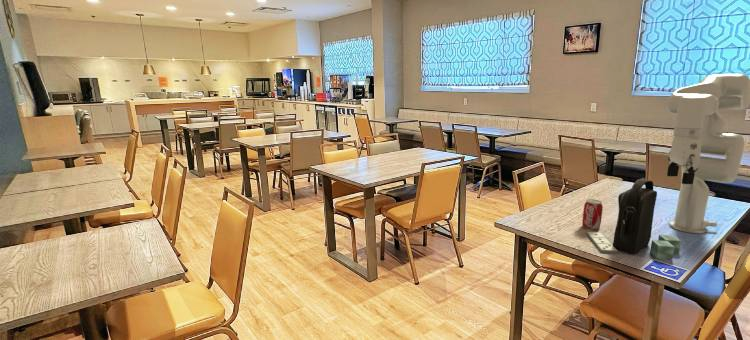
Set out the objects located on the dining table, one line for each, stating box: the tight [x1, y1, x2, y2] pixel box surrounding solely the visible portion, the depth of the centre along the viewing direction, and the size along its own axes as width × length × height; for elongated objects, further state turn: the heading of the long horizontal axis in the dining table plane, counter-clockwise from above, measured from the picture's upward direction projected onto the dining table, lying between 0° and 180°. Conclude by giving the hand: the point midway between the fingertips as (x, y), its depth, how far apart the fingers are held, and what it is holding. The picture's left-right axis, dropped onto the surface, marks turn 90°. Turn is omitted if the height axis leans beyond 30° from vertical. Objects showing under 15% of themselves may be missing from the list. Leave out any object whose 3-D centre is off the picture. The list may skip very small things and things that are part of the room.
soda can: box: [581, 199, 604, 230], centre depth 165 cm, size 7×7×12 cm
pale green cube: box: [657, 234, 682, 254], centre depth 144 cm, size 5×5×5 cm
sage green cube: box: [649, 239, 675, 260], centre depth 139 cm, size 5×5×5 cm
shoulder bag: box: [612, 177, 658, 256], centre depth 144 cm, size 23×9×28 cm, turn 129°
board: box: [585, 231, 619, 254], centre depth 151 cm, size 6×18×1 cm, turn 168°
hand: (679, 179), depth 136 cm, fingers open, 9 cm apart
